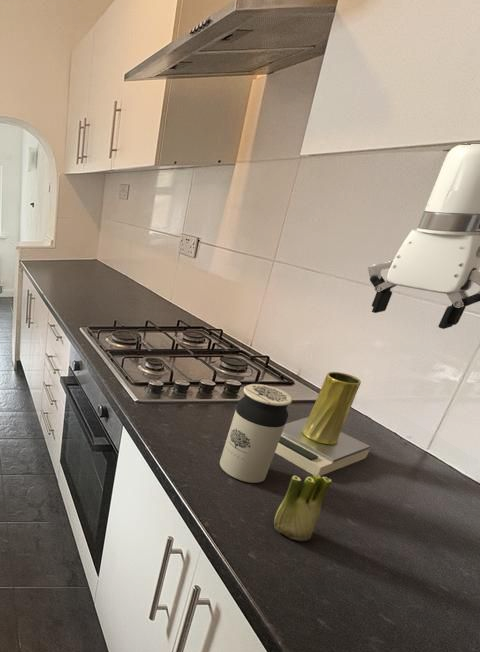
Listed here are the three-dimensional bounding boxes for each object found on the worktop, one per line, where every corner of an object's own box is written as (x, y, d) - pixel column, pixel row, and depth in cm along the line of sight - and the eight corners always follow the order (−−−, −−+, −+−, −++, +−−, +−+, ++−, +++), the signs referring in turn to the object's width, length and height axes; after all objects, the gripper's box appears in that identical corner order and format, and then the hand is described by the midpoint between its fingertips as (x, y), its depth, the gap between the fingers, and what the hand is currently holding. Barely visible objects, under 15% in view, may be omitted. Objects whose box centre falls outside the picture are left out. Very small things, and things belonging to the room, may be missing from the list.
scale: (305, 428, 98) (309, 416, 96) (365, 458, 87) (371, 446, 86) (258, 443, 92) (262, 431, 91) (317, 477, 82) (322, 464, 81)
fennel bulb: (269, 535, 69) (292, 478, 64) (268, 515, 73) (289, 461, 68) (313, 550, 66) (340, 492, 62) (309, 529, 70) (334, 473, 65)
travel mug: (246, 457, 88) (272, 382, 80) (274, 483, 81) (305, 403, 73) (210, 458, 87) (233, 383, 80) (235, 485, 80) (262, 405, 73)
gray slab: (307, 419, 96) (308, 416, 96) (368, 449, 86) (370, 446, 86) (272, 430, 92) (273, 427, 92) (332, 463, 82) (334, 459, 82)
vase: (300, 425, 93) (322, 368, 87) (335, 433, 90) (360, 375, 84) (303, 439, 88) (327, 380, 82) (340, 448, 85) (367, 387, 79)
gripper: (540, 227, 64) (486, 331, 71) (399, 217, 79) (366, 304, 86) (517, 231, 62) (464, 337, 68) (375, 220, 76) (343, 309, 83)
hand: (409, 319), depth 77 cm, fingers open, 9 cm apart
